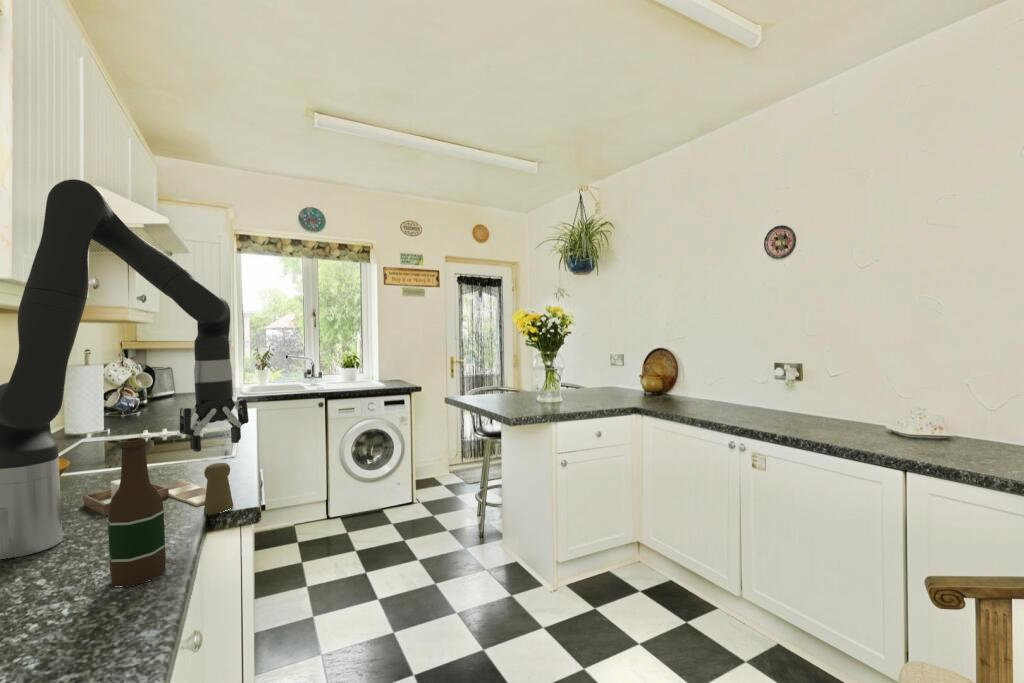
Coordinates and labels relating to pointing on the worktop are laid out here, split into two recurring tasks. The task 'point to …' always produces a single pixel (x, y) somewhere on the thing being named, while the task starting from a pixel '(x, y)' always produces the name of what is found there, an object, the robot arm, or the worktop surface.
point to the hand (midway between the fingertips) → (216, 446)
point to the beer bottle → (135, 521)
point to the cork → (217, 489)
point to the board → (187, 492)
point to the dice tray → (103, 499)
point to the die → (114, 487)
